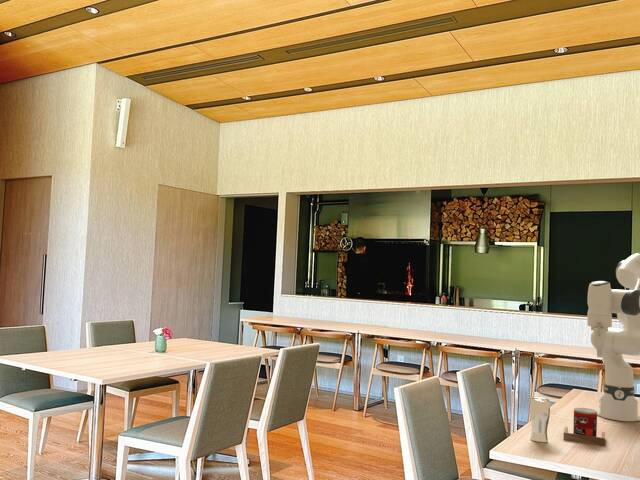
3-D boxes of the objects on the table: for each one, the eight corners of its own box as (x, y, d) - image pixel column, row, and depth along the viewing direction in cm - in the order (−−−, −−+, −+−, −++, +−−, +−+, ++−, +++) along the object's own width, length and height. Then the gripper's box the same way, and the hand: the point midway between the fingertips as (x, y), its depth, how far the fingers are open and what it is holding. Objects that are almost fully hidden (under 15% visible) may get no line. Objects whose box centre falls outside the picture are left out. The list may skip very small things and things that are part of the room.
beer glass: (550, 443, 216) (551, 401, 217) (530, 441, 217) (531, 400, 218) (547, 438, 223) (548, 398, 224) (527, 436, 224) (529, 396, 225)
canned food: (569, 436, 227) (570, 407, 228) (589, 436, 228) (589, 407, 229) (580, 442, 220) (580, 412, 220) (600, 442, 221) (601, 412, 221)
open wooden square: (564, 433, 232) (564, 426, 232) (604, 438, 226) (604, 432, 226) (563, 439, 223) (563, 432, 223) (605, 445, 217) (605, 438, 217)
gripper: (608, 324, 227) (608, 361, 227) (608, 320, 246) (608, 354, 245) (590, 323, 230) (590, 359, 230) (591, 319, 249) (591, 352, 248)
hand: (599, 356), depth 238 cm, fingers closed
